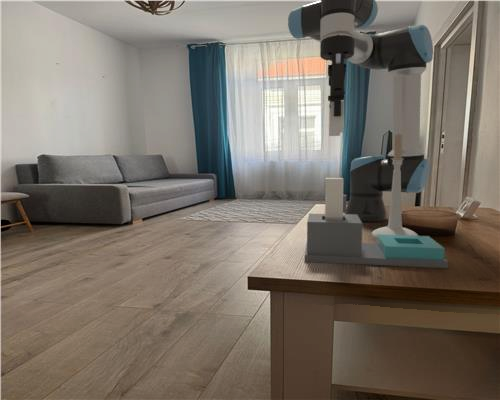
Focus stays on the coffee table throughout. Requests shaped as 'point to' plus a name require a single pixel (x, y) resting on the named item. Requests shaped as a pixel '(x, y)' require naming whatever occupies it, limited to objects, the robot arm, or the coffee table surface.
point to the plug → (334, 199)
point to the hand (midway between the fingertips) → (335, 134)
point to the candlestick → (395, 198)
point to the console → (367, 245)
